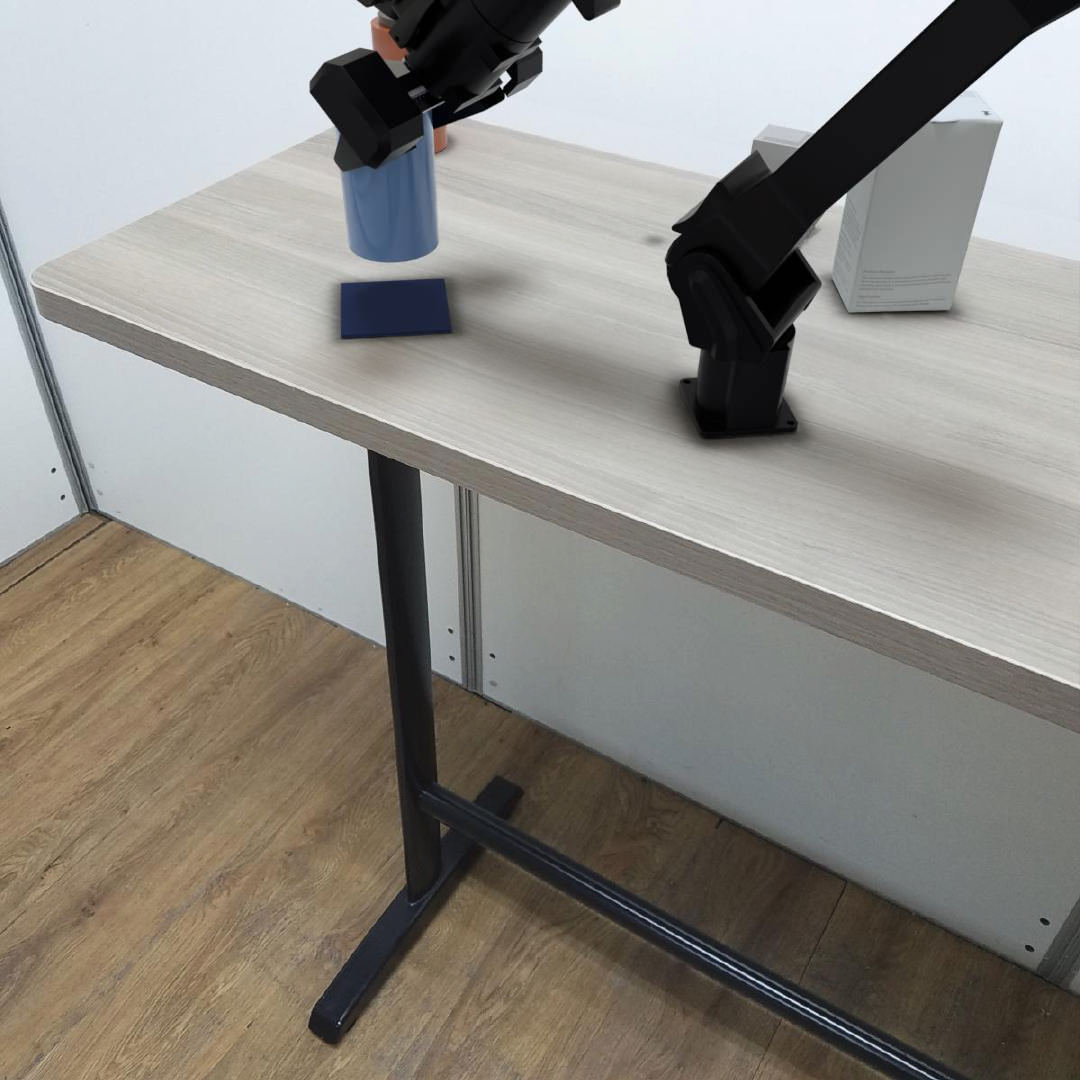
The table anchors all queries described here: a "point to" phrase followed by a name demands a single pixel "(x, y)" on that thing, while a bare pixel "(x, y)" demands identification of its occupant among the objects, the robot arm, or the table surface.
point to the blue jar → (394, 201)
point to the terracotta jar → (392, 52)
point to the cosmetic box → (917, 214)
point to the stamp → (778, 143)
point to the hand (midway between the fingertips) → (370, 149)
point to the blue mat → (394, 308)
